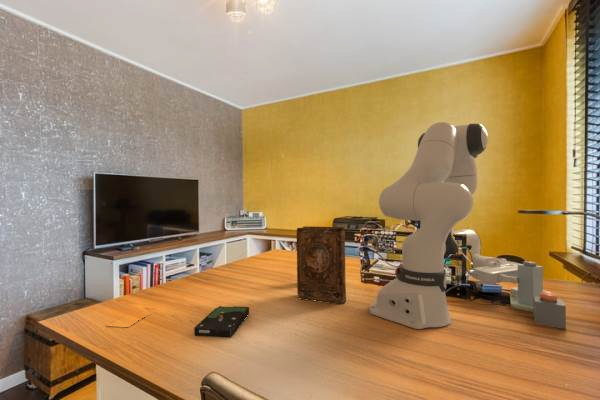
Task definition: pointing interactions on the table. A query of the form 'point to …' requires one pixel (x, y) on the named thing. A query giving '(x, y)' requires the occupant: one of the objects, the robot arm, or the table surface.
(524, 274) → the cartridge
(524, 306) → the tray
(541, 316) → the button post
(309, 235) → the book
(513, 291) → the socket collar
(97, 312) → the table surface
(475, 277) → the robot arm
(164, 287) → the table surface
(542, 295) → the button
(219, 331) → the disk drive
